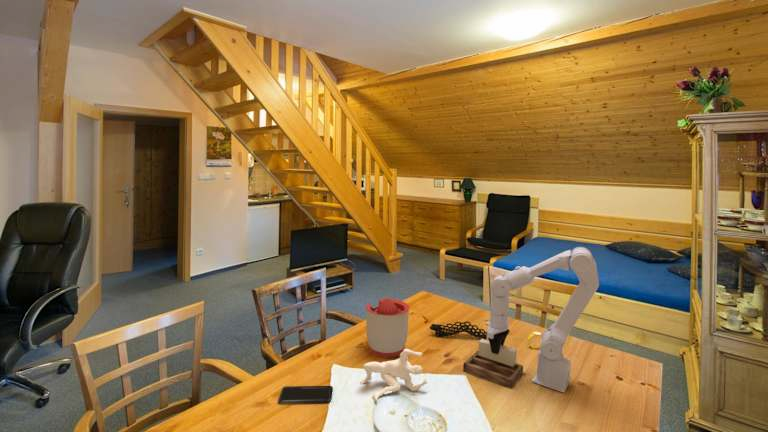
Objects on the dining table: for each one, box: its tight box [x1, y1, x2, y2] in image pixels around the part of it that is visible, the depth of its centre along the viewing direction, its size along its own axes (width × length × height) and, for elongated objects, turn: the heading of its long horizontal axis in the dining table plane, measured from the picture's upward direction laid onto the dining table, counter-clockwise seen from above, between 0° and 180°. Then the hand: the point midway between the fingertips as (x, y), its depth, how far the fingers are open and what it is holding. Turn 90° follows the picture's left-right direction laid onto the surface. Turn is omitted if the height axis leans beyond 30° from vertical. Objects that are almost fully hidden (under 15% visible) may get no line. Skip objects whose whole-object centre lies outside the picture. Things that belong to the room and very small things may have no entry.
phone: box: [277, 385, 334, 405], centre depth 115 cm, size 8×1×15 cm
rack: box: [462, 350, 524, 389], centre depth 130 cm, size 16×11×3 cm
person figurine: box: [359, 348, 428, 403], centre depth 120 cm, size 13×13×18 cm
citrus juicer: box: [365, 297, 410, 359], centre depth 143 cm, size 16×17×20 cm
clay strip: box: [477, 338, 518, 367], centre depth 131 cm, size 12×2×5 cm, turn 53°
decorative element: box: [429, 320, 488, 340], centre depth 156 cm, size 22×5×6 cm, turn 86°
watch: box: [527, 331, 542, 350], centre depth 147 cm, size 6×3×6 cm, turn 88°
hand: (496, 351), depth 131 cm, fingers closed on clay strip, 2 cm apart
